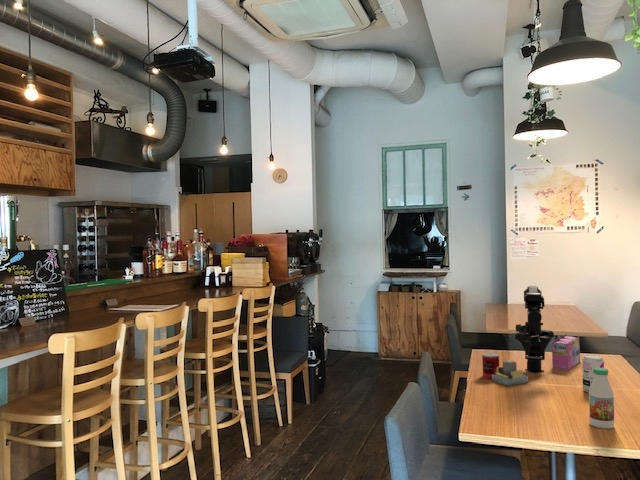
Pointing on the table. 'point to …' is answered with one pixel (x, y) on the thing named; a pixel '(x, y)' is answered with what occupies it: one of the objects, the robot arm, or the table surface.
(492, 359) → the canned food
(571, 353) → the pink drink carton pack
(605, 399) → the milk bottle
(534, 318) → the robot arm
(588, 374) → the supplement can
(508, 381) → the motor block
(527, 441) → the table surface
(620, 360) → the table surface
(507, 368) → the grey rounded piece
